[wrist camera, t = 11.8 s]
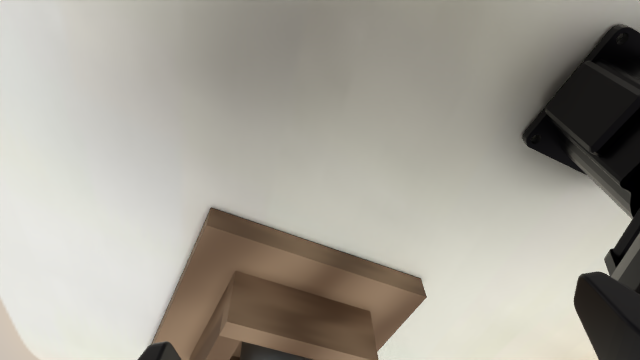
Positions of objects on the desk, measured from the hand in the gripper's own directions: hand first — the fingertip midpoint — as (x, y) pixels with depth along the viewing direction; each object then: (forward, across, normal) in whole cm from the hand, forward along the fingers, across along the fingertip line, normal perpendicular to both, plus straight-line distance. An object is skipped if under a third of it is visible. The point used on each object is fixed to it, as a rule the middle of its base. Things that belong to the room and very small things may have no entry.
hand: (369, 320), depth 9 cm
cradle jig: (+13, +6, +15) cm, 21 cm away
